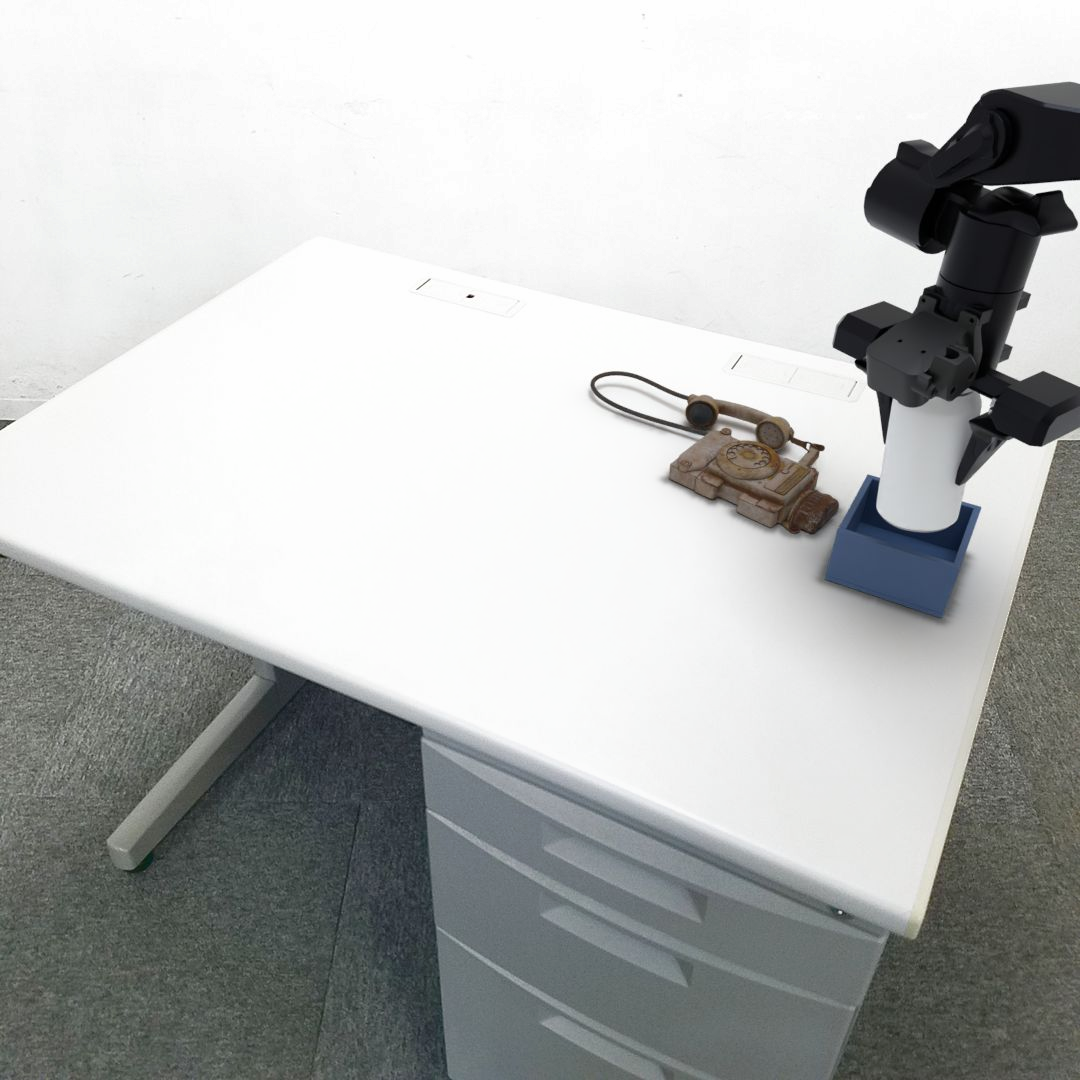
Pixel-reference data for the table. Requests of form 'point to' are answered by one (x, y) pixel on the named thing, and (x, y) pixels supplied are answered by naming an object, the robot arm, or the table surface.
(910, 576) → the bin
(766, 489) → the telephone
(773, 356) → the table surface
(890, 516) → the can
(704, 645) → the table surface
